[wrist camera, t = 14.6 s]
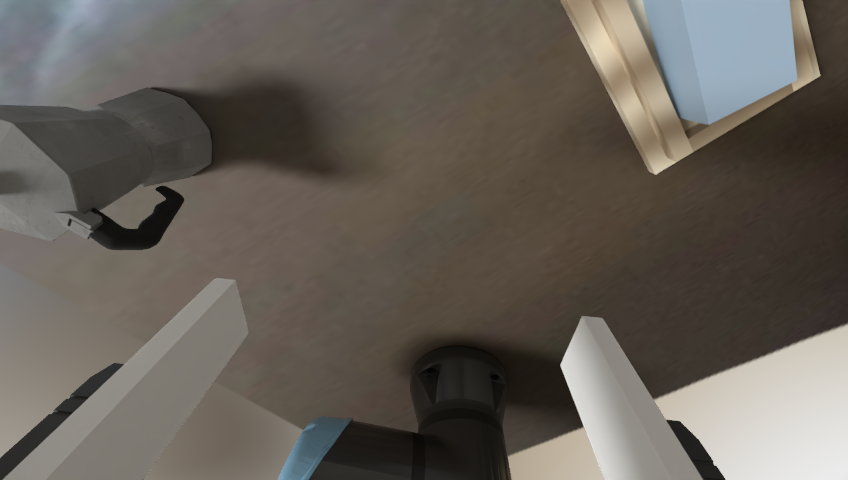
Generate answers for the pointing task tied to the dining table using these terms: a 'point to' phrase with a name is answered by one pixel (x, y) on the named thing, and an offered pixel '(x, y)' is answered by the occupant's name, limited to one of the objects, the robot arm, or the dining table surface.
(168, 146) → the coffeepot
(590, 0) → the slot holder
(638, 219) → the dining table surface
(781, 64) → the blue block
